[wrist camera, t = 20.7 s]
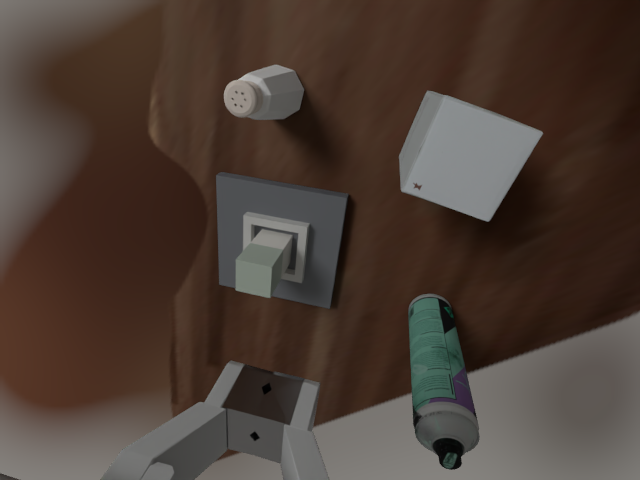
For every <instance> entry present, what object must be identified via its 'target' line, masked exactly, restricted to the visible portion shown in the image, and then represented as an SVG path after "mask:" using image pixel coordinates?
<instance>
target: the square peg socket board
mask: <svg viewBox="0 0 640 480" xmlns="http://www.w3.org/2000/svg"><path fill="white" fill-rule="evenodd" d="M216 186H217V219H218V253H219V285H224V286H228V287H233V288H236V259H237V257H238V256H239V255H240V254H241V253H242V252H243V251H244V249H245V248H246V247H247V246H248V245H249V244H250V242H251V241H252V240H253V239H254V238H255V237H256V236H257V234H258V233H259V232H260V231H261V230H262V229H265V230H270V231H275V232H280V233H285V234H290V235H293V238H292V249H291V260H290V264H289V266H288V267H287V269H286V271H285V273H284V274H283V276H282V278H281V280H280V282H279V283H278V285H277V287H276V289H275V290H274V292H273V294H272V296H274V297H278V298H283V299H287V300H292V301H297V302H301V303H306V304H310V305H315V306H319V307H324V308H329V309H330V306H331V302H332V296H333V290H334V284H335V277H336V271H337V265H338V258H339V252H340V246H341V239H342V233H343V226H344V220H345V214H346V207H347V201H348V195H349V194H346V193H340V192H334V191H328V190H322V189H317V188H311V187H305V186H299V185H294V184H288V183H282V182H276V181H271V180H265V179H259V178H253V177H248V176H242V175H236V174H230V173H224V172H221V173H219V174H217V175H216Z"/></svg>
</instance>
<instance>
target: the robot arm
mask: <svg viewBox="0 0 640 480" xmlns="http://www.w3.org/2000/svg"><path fill="white" fill-rule="evenodd" d="M319 390H320V383H319V382H315V381H311V380H307V379H304V378H300V377H295V376H291V375H287V374H282V373H278V372H272V371H268V370H264V369H261V368H257V367H254V366H250V365H246V364H242V363H238V362H235V361H230V362H229V363H228V364H227V365H226V367H225V368H224V370H223V372H222V373H221V375H220V377H219V379H218V380H217V382H216V384H215V385H214V387H213V389H212V390H211V392H210V394H209V396H208V397H207V399H206V401H205V402H204V403H203V402H199V403H197V404H195V405H194V406H192V407H191V408H189V409H187V410H186V411H184V412H182V413H181V414H179V415H178V416H176V417H174V418H173V419H171V420H170V421H168V422H166V423H165V424H163V425H161V426H160V427H158V428H157V429H155V430H153V431H152V432H150V433H148V434H147V435H145V436H143V437H142V438H140V439H139V440H137V441H135V442H134V443H132V444H131V445H129V446H127V447H126V448H124V449H122V451H121V452H120V454H119V455H118V456H117V458H116V459H115V460H114V462H113V463H112V464H111V466H110V467H109V468H108V470H107V471H106V473H105V474H104V475H103V477H102V478H101V479H100V480H194V479H195V478H197V477H198V476H199V475H200V474H201V473H202V472H203V471H204V470H205V469H207V468H208V467H209V466H210V465H211V464H212V463H213V462H215V461H216V460H217V459H218V458H219V457H220V456H221V455H222V454H224V453H225V452H226V451H227V449H231V450H235V451H239V452H243V453H248V454H251V455H255V456H258V457H261V458H265V459H268V460H271V461H275V462H277V463H281V470H282V475H283V480H329V477H328V474H327V472H326V469H325V465H324V463H323V460H322V457H321V454H320V451H319V448H318V445H317V442H316V439H315V436H314V433H313V432H312V428H313V424H314V418H315V413H316V408H317V402H318V396H319ZM0 480H19V479H16V478H13V477H10V476H7V475H4V474H0Z"/></svg>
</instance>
